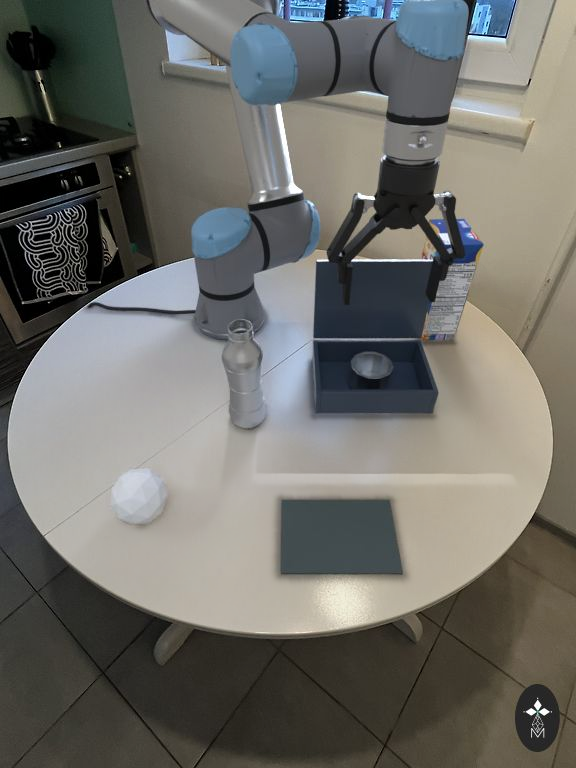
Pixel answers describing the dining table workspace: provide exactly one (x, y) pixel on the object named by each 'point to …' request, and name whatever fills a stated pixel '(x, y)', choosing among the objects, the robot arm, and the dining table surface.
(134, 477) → the geometric ball
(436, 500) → the dining table surface
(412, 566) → the dining table surface
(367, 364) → the grey hollow cylinder
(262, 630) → the dining table surface
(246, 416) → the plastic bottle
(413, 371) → the box
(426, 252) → the blue cereal box
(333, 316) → the chest lid
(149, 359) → the dining table surface
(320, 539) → the mat
